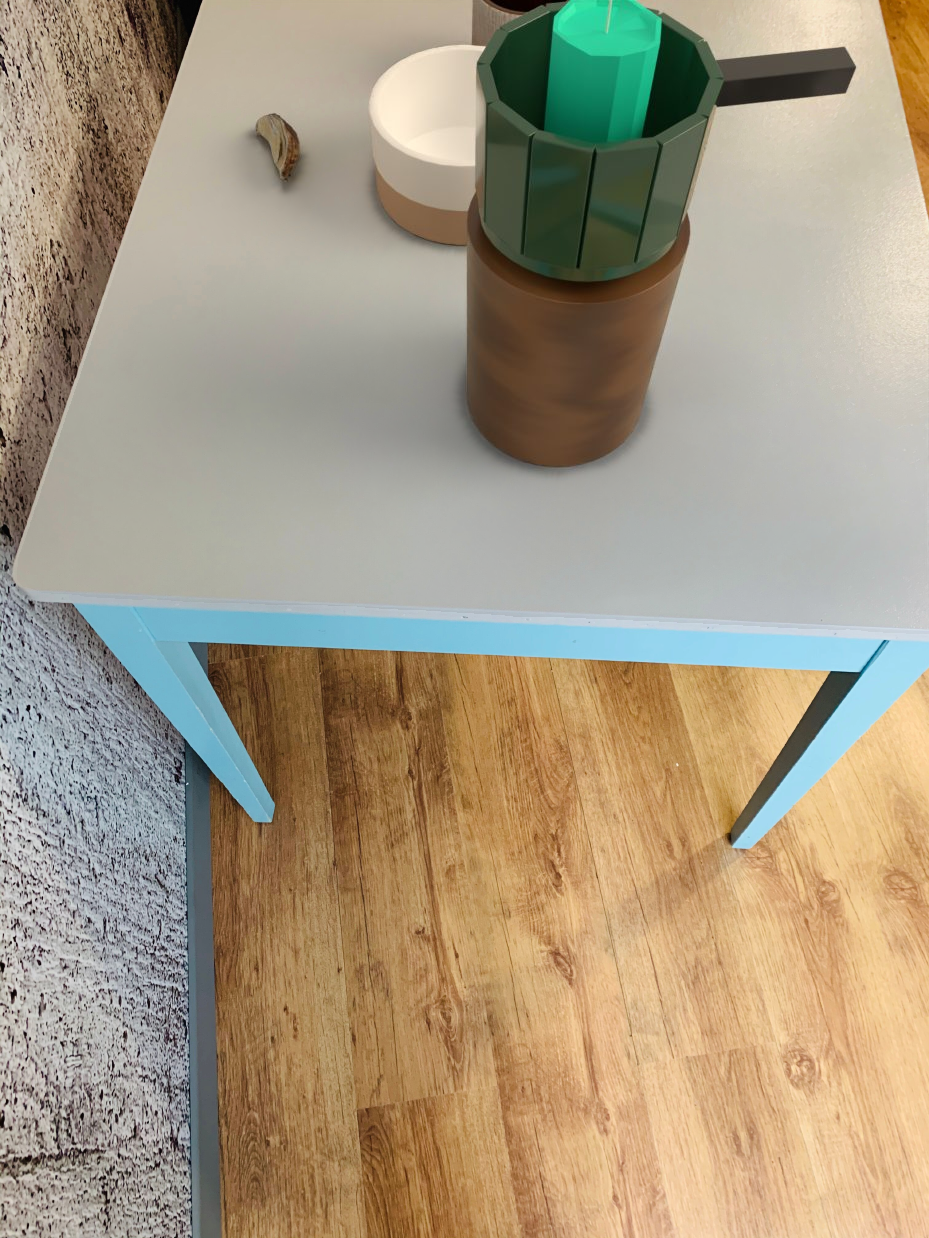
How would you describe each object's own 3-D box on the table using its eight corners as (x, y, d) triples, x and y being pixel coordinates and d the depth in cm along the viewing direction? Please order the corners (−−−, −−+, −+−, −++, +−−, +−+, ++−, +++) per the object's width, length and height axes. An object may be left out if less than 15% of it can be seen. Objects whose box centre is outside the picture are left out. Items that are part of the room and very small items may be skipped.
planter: (460, 106, 90) (460, 8, 81) (483, 44, 94) (485, -55, 85) (562, 122, 88) (572, 24, 80) (580, 59, 93) (592, -41, 84)
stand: (609, 315, 77) (646, 131, 61) (666, 446, 71) (724, 279, 55) (448, 346, 75) (443, 167, 60) (492, 483, 69) (500, 323, 53)
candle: (580, 240, 53) (609, 41, 43) (518, 189, 55) (530, -13, 45) (649, 199, 55) (693, -3, 44) (586, 151, 57) (614, -54, 46)
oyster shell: (277, 187, 91) (308, 188, 83) (243, 173, 88) (271, 173, 81) (290, 126, 89) (323, 122, 81) (256, 111, 87) (287, 105, 79)
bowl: (532, 259, 80) (539, 179, 72) (356, 230, 82) (345, 150, 74) (564, 141, 87) (573, 57, 80) (401, 117, 89) (395, 32, 81)
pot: (497, 294, 53) (502, 163, 45) (462, 150, 59) (461, 11, 51) (836, 253, 54) (900, 119, 46) (769, 116, 60) (816, -24, 52)
